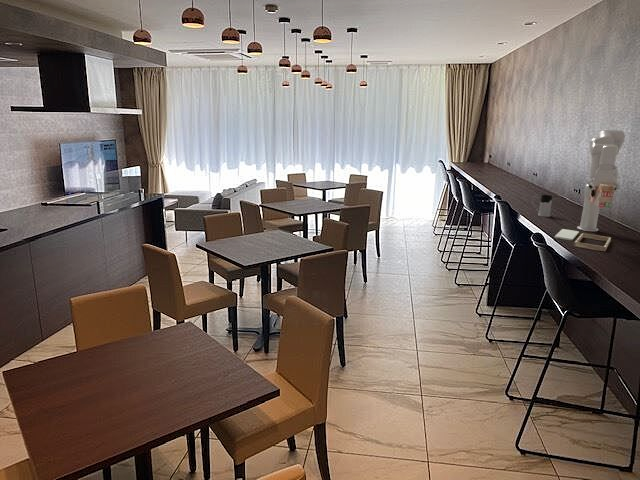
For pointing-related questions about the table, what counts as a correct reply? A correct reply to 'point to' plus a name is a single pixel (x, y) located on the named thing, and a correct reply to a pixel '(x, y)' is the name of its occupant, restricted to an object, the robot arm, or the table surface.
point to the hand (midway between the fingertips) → (600, 197)
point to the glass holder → (544, 205)
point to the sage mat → (567, 234)
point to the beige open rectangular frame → (589, 246)
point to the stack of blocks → (602, 195)
